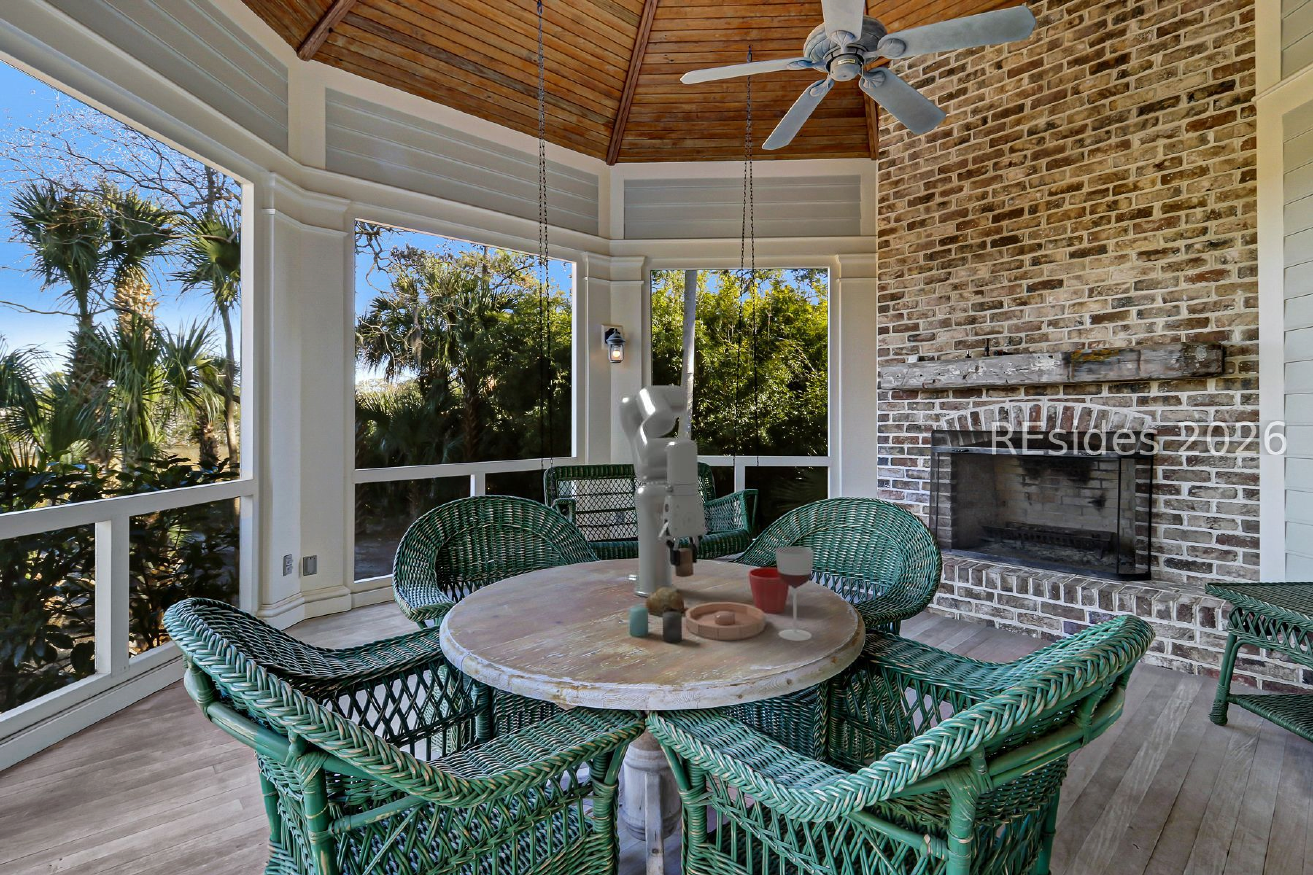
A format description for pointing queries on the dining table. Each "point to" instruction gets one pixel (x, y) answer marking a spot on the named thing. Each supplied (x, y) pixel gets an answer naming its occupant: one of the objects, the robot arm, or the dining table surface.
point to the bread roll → (664, 601)
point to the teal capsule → (638, 621)
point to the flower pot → (768, 590)
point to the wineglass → (794, 580)
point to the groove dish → (725, 621)
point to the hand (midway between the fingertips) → (683, 562)
